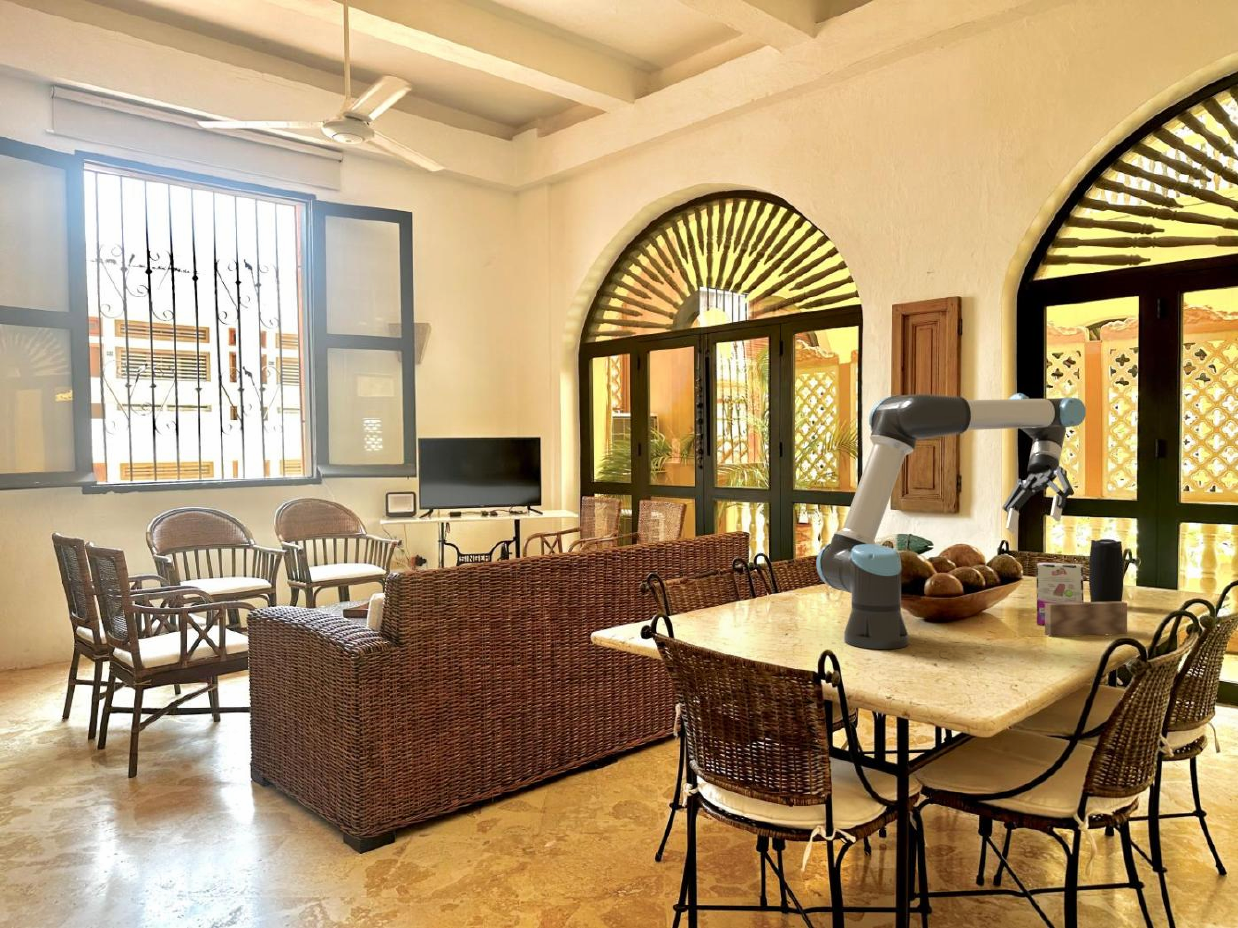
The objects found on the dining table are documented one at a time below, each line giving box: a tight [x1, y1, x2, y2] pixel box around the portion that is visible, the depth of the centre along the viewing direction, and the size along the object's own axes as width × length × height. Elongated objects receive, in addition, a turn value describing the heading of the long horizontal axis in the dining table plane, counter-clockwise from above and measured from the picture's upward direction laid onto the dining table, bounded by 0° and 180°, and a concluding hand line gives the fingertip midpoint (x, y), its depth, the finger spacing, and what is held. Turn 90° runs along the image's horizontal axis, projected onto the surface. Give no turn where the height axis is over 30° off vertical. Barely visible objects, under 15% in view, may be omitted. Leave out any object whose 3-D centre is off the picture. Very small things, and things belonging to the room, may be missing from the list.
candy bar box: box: [1035, 561, 1085, 626], centre depth 230 cm, size 11×5×16 cm, turn 62°
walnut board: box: [1044, 600, 1128, 637], centre depth 219 cm, size 20×2×8 cm, turn 94°
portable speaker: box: [1088, 538, 1124, 602], centre depth 254 cm, size 9×9×20 cm
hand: (1032, 524), depth 227 cm, fingers open, 13 cm apart
